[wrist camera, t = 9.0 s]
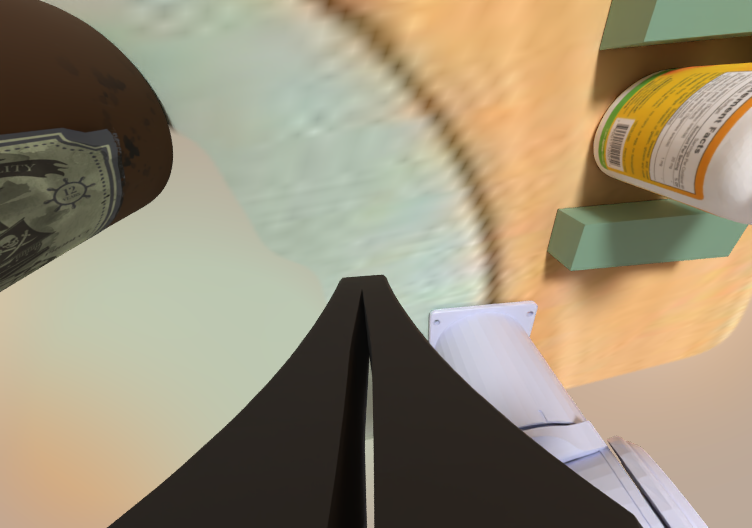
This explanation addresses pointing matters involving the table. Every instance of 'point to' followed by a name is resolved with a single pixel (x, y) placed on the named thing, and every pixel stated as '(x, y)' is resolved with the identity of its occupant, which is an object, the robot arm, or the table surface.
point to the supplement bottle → (685, 138)
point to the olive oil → (70, 136)
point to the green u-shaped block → (666, 216)
